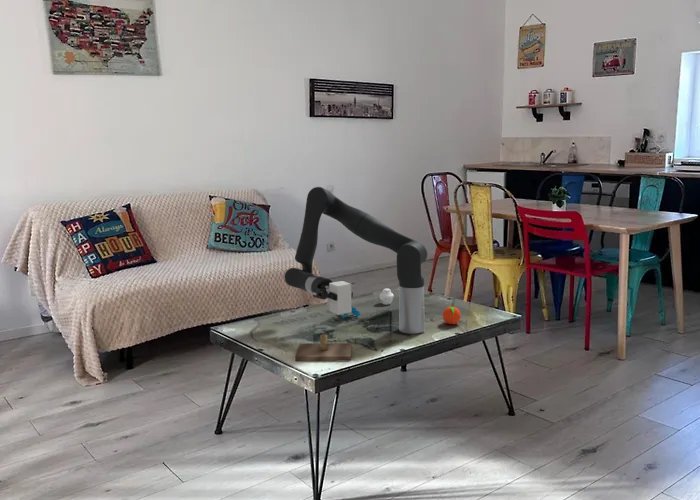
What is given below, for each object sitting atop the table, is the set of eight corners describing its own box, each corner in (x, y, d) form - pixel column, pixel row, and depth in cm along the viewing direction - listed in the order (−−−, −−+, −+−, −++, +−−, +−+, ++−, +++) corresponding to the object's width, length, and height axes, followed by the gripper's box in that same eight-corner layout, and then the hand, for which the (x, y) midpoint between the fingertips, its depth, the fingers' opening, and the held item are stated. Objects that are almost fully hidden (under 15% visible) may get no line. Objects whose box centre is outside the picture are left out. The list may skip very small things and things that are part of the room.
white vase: (393, 301, 270) (393, 286, 269) (393, 305, 264) (393, 289, 263) (379, 301, 270) (379, 286, 269) (379, 305, 264) (379, 289, 263)
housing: (343, 308, 217) (342, 280, 215) (351, 312, 212) (351, 284, 210) (329, 311, 214) (329, 283, 212) (337, 314, 209) (337, 286, 207)
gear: (365, 314, 245) (348, 299, 241) (356, 326, 243) (339, 311, 240) (352, 311, 255) (335, 297, 251) (344, 323, 253) (327, 308, 250)
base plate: (351, 347, 212) (351, 329, 211) (350, 360, 199) (350, 341, 198) (299, 347, 212) (298, 329, 211) (295, 361, 200) (294, 341, 198)
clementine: (462, 327, 232) (463, 309, 231) (444, 327, 232) (444, 309, 231) (459, 321, 240) (459, 303, 239) (441, 321, 240) (441, 304, 239)
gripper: (301, 279, 219) (326, 288, 205) (336, 274, 227) (361, 282, 213) (302, 299, 220) (326, 310, 206) (336, 293, 228) (361, 303, 214)
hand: (344, 296), depth 210 cm, fingers closed on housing, 5 cm apart
